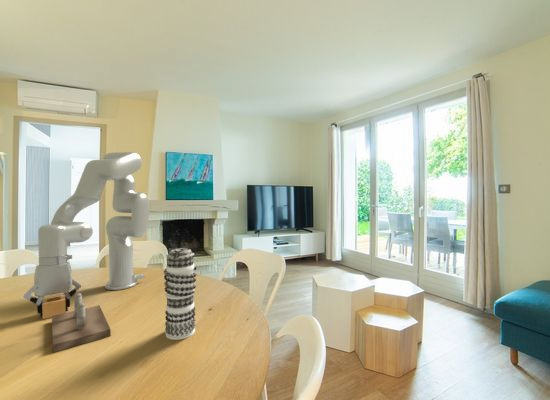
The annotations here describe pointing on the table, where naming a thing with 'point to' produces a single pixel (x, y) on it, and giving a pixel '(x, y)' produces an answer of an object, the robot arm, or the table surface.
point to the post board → (78, 326)
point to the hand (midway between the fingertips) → (54, 311)
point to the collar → (53, 306)
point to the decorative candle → (180, 294)
